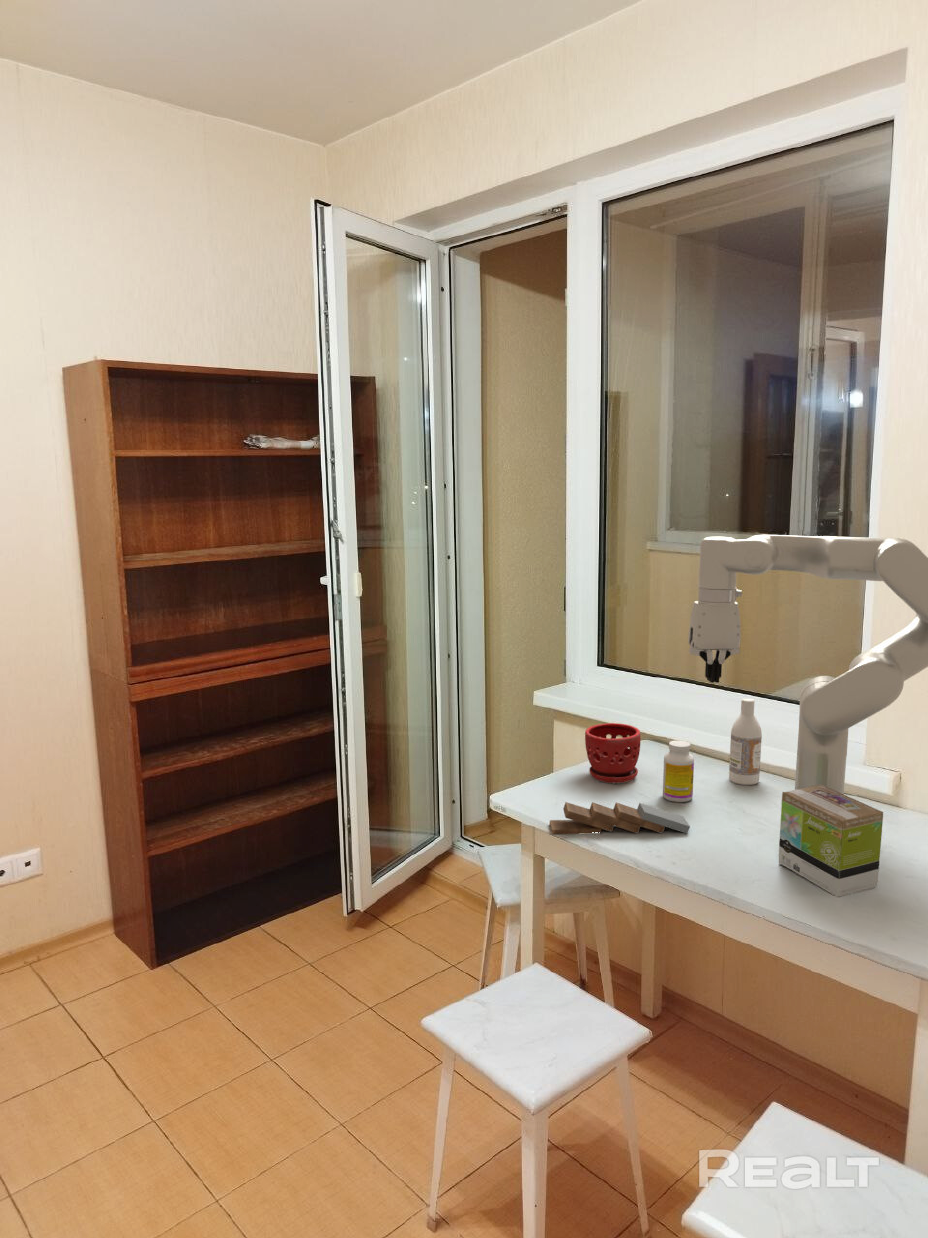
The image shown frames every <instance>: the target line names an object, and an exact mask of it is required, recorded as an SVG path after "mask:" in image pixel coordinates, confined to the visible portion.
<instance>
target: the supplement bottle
mask: <svg viewBox="0 0 928 1238" xmlns="http://www.w3.org/2000/svg"><path fill="white" fill-rule="evenodd" d="M668 742H669V743H668V750H669V751H667V753H665V755H664V757H663V773H662V774H663V776H662V777H663V779H662V797H663V798H664V799H666V800H667V801H669V802H673V803H674V802H675V803H687V802H689V801H692V799H693V794H694V769H695V766H694V765H695V759H694V756H693V755H692V754H691V753H690V751H691V743H690V742H688V741H684V740H671V741H668Z"/></svg>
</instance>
